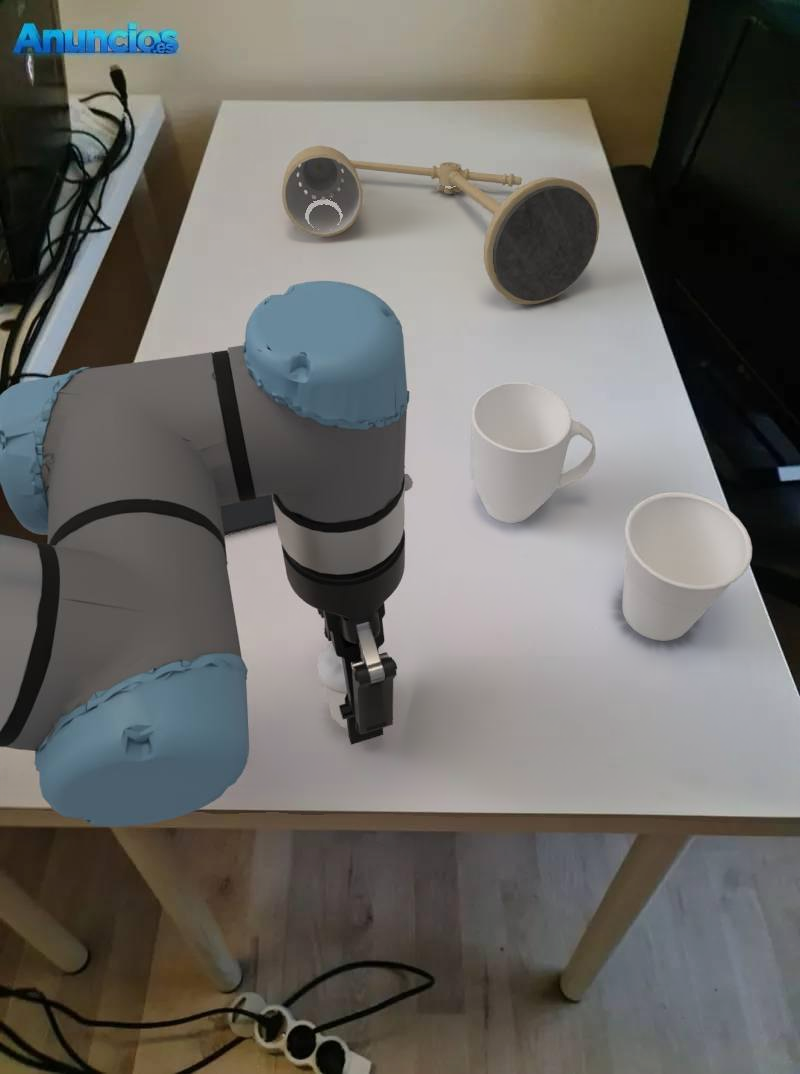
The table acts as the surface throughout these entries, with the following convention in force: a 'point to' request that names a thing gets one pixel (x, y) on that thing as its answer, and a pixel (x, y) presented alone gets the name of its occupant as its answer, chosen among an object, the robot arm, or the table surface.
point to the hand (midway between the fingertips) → (357, 709)
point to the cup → (679, 561)
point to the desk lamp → (518, 224)
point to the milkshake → (333, 682)
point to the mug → (522, 448)
